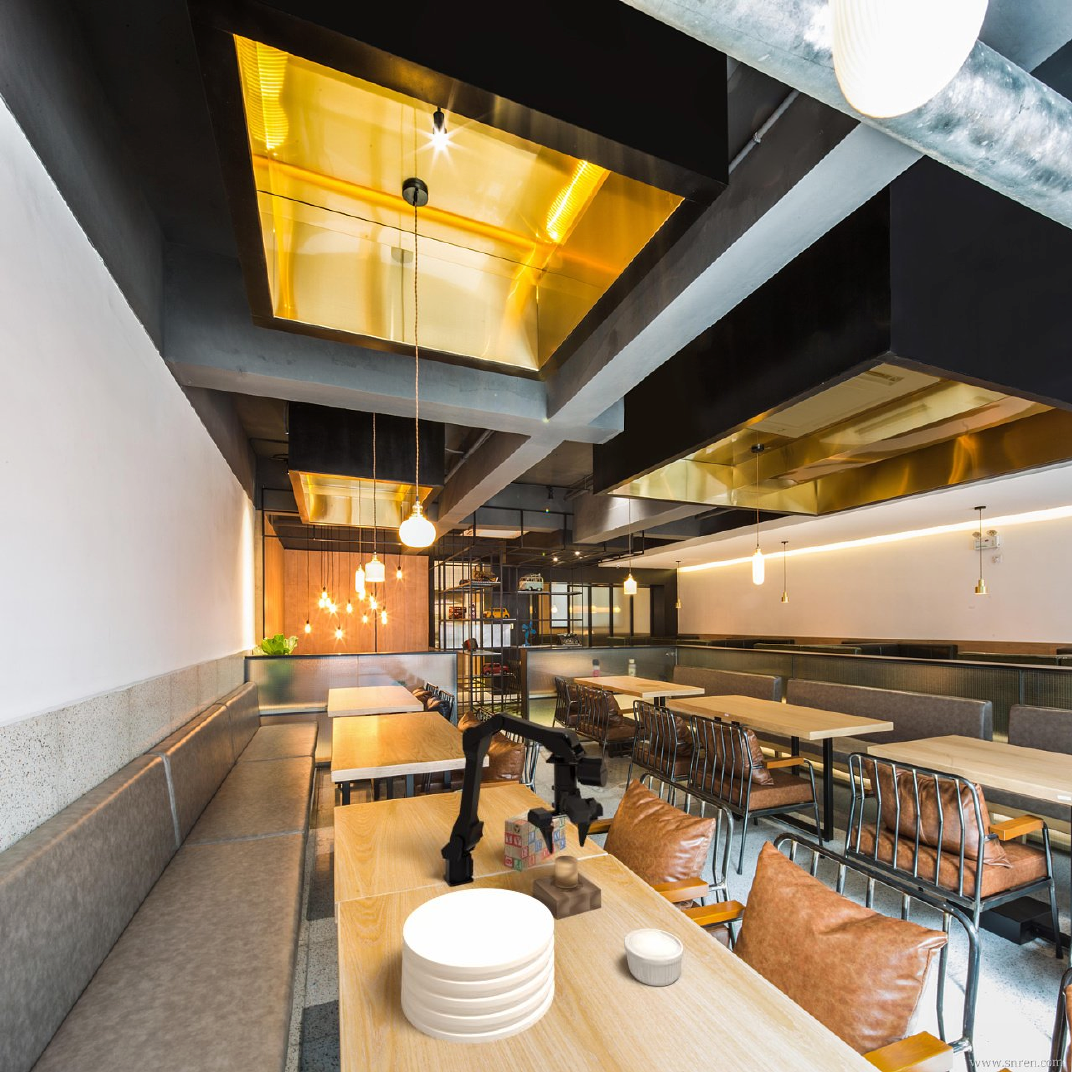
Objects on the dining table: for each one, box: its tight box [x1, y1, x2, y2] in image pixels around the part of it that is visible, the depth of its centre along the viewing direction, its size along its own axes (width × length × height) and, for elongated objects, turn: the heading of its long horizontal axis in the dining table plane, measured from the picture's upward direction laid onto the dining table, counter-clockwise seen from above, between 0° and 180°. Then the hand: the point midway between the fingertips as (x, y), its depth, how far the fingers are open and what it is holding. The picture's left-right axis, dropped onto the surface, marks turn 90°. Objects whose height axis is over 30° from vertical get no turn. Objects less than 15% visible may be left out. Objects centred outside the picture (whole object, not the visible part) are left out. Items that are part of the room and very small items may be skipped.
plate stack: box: [400, 887, 555, 1045], centre depth 107 cm, size 28×28×12 cm
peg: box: [554, 855, 579, 890], centre depth 140 cm, size 6×6×9 cm
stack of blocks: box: [504, 808, 567, 872], centre depth 167 cm, size 21×6×12 cm, turn 143°
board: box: [532, 872, 602, 920], centre depth 139 cm, size 12×12×4 cm
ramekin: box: [623, 928, 685, 987], centre depth 111 cm, size 11×11×5 cm
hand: (566, 849), depth 141 cm, fingers open, 8 cm apart
